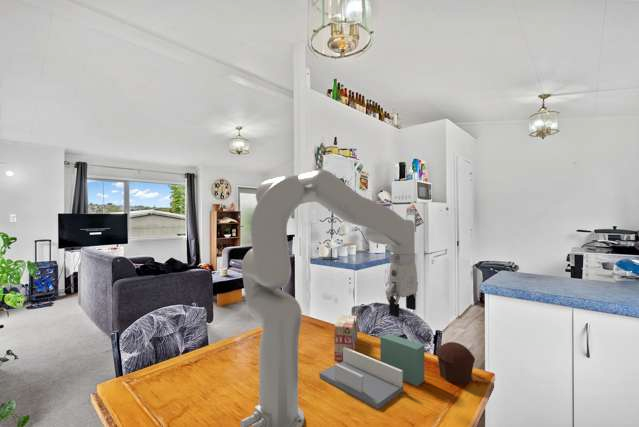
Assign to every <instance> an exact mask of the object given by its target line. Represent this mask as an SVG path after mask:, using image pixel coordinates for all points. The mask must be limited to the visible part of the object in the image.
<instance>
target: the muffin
mask: <svg viewBox="0 0 639 427" xmlns="http://www.w3.org/2000/svg"><path fill="white" fill-rule="evenodd" d="M435 355H436V357H437V361H438V368H439V375H440V377H441V378H442V379H444V381H446V382H449V383H453V385H454V384H455V385H456V384H457V385H466V384H468V383H470V382H471V380H472V374H473V368H474V364H475V360H476V358H475V356H474V355H473V354H472V352H471V351H470V350H469V348H467V347H466V346H465V345H464V344H462V343H458V342H455V341H450V342H449V341H448V342H446V343H443V344H441V345H440V346H439V347H438V349H436V351H435Z"/></svg>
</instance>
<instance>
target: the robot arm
mask: <svg viewBox="0 0 639 427" xmlns="http://www.w3.org/2000/svg"><path fill="white" fill-rule="evenodd" d="M255 191H256V193H255V198H256V203H257V204H256V205H255V208H254V210H253V213H252V216H251V220H250V235H251V237H250V238H251V247H252V248H250V249H249V250H248V251H247V252H246V254H245V255H244V257H243V259H242V264H241V275H242V281H243V283H242V284H243V289H244V297H245V301H246V302H245V303H246V307H247V311H248V313H249V314H250V316H251V317H252V318H253V319H254V320H255V321H256V322H257V323H259V325H261V328H262V330H261V335H260V340H259V346H258V405H256V406H254V412H252V413H251V415H250V416H247V417H245V418H243V419H241V420H240V422H239V424H240V427H303V426H304V424H305V413H304V411H303V409H302V408H300V407H299V338H300V331H301V325H302V319H303V317H302V315H303V312H302V308H301V305H300V303H299V302H298V300H297V299H296V298H295V297H294V296H292V295H291V294H290V293H287V292H286V291H283V290H282V289H280V288H283V287H285V286H286V285H287V284H288V283H289V281H290V280H291V276H292V266H291V259H290V249H289V243H288V229H287V228H288V222H289V219H290V218H291V215H292V214H293V212H294V211H295V210H296V209H297V208H298V207H299V206H300V205H303V204H306V203H314V202H315V203H318V204H320V205H321V206H322V207H323V208H325V209H327V210H328V211H329V212H331V213H332V214H334V215H336V217H338V218H340V219H341V220H342V221H344V222H346V223H349V224H352V225H357V226H360V227H364V228H365V231H364V232H365V236H366V239H367V240H369V241H370V242H371V243H374V244H377V245H378V244H379V245H388V246H389V245H390V246H389V248H390V249H389V253H390V254H389V257H390V258H389V263H390V266H389V275H388V287H387V289H386V290H385V294H386V295H385V296H386V299H387V302H388V304H389V306H388V307H389V309H388V310H389V311H388V312H389V313H388V314H389V316H391V317H395V318H399V317H400V303H399V301H400V299H401V298H405V308H406V309H408V310H412V311H415V310H416V308H417V306H416V304H417V302H416V299H417V298H416V297H417V292H418V285H419V282H418V272H417V265H416V261H415V260H416V259H415V258H416V257H415V256H416V254H415V253H416V252H415V248H416V247H415V239H416V238H415V234H416V233H415V222H414V220H411V219H404V218H403V217H402V216H400V215H399V214H398V213H397V212H395V211H394V210H392V209H391V208H389V207H387V206H385V205H383V204H381V203H378V202H376V201H373V199H372V200H371V199H369V198H367V197H364V196H362V195H361V194H359V193H358V192H357V191H356V190H354V189H353V188H351V187H350V186H349V185H348V184H346V182H344V181H342V180H341V179H340V178H339V177H338V176H336V175H335V174H334V173H332V172H331V171H328V170H327V169H318V170H317V169H316V170H313V171H308V172H304V173H298V174H295V175H283V176H279V177H275V178H272V179H271V178H270V179H267V180H265V181H262V183H260V184H259V186H258V187H257V188H256V190H255Z"/></svg>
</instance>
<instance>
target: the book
mask: <svg viewBox="0 0 639 427" xmlns="http://www.w3.org/2000/svg"><path fill="white" fill-rule="evenodd" d="M379 342H380V351H379V352H380V354H379V355H380V357H379V358H380V360H379V361H381V362H383V363H386V364H388V365H390V366H393V367H395V368H398V369H400V370H403V381H404V382H406V383H408V384H411V385H412V386H413V385H414V386H415V387H419V385H421V384H422V383H424V382H425V344H422V343H419V342H416V341H413V340H410V339H408V338H407V339H406V338H404V337H400V336H398V335H394V334H392V333H389V332H388V333H385V334H384V335H382V336H380V341H379Z"/></svg>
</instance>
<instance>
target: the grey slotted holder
mask: <svg viewBox="0 0 639 427" xmlns="http://www.w3.org/2000/svg"><path fill="white" fill-rule="evenodd" d="M318 373H319V374H318V375H319V378H320V379H321V380H323V381H325V382H327V383H328V384H331V385H333V386H334V387H336V388H338V389H340V390H342V391H344V392H345V393H347V394H349V395H351V396H353V397H355V398H356V399H358V400H360V401H362V402H364V403H366V404H367V405H369V406H371V407H373V408H375V409H377V410H379V409H381V408H382V407H383V406H385V405H386V404H388V403H389V402H390V401H392V400H393V399H394V398H395V397H397V396H398V395H400V394H401V393H402V392H404V389H405V388H404V385H403V370H400V369H398V368H395V367H393V366H390V365H388V364H386V363H383V362H381V361H380V360H378V359H375V358H373V357H370V356H367V355H365V354H364V353H361V352H358V351H356V350H355V351H353V350H351V349H349V348H346V347H344V348H343V361H340V362H338V363H335V364H334V365H332V366H331V367H328V368H326V369H324V370H323V371H320V372H318Z"/></svg>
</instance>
